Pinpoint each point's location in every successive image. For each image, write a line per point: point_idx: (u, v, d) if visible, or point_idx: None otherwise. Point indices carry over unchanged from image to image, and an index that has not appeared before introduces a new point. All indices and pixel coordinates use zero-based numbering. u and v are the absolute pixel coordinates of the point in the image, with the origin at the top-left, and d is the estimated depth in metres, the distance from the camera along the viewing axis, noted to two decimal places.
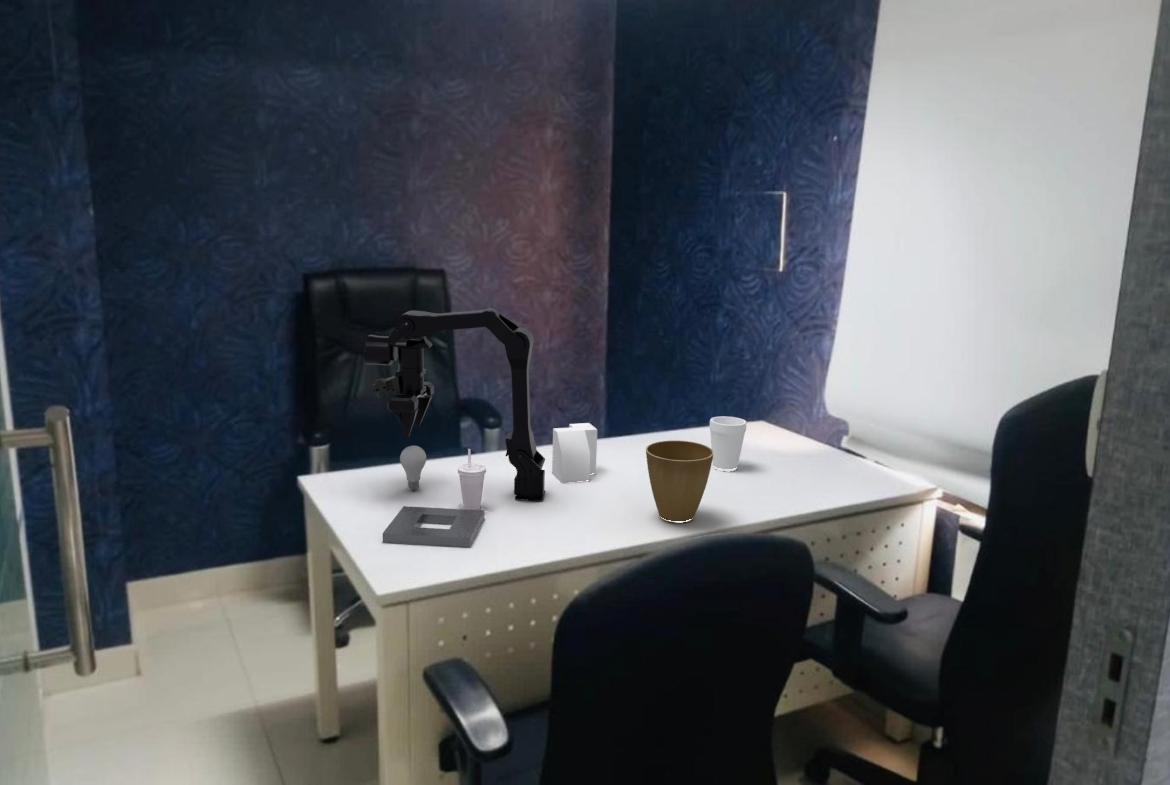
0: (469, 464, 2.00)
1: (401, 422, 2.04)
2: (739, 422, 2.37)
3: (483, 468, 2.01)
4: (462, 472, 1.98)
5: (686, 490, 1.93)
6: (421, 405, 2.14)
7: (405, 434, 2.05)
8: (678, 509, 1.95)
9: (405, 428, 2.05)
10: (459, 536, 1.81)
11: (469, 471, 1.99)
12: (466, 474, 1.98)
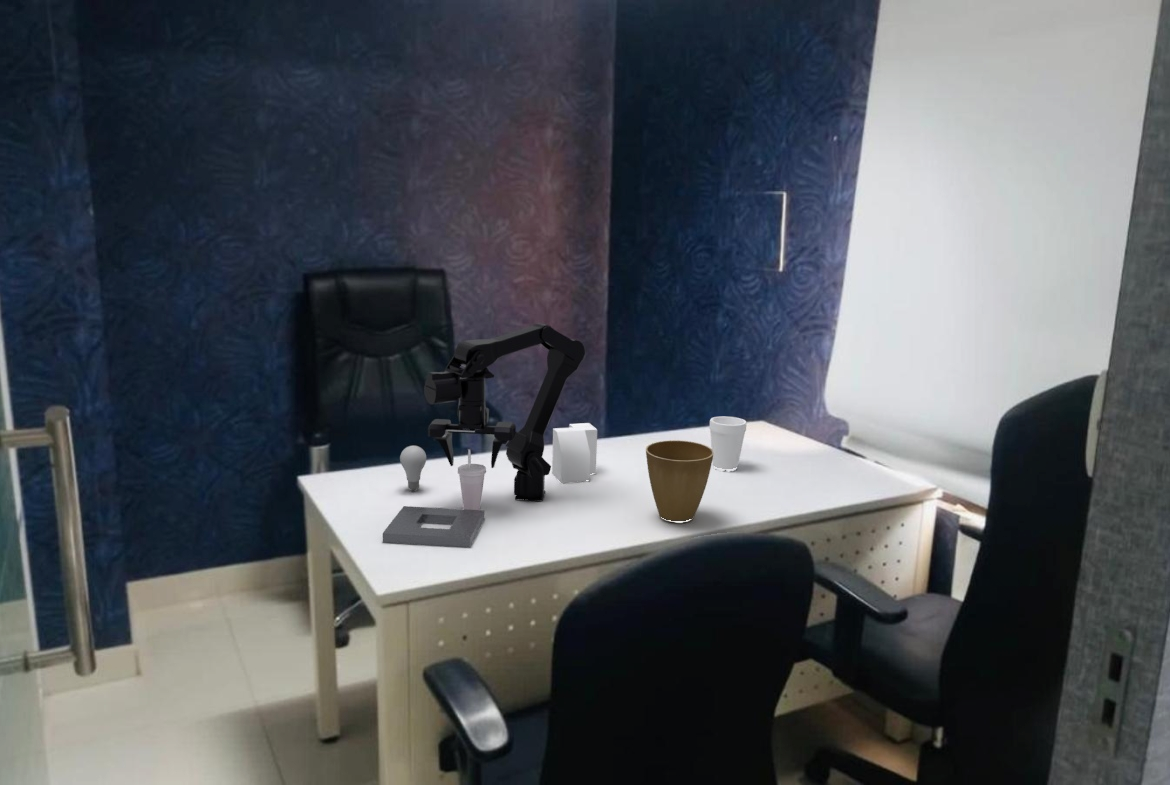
0: (469, 464, 2.00)
1: None
2: (739, 422, 2.37)
3: (483, 468, 2.01)
4: (462, 472, 1.98)
5: (686, 490, 1.93)
6: None
7: None
8: (678, 509, 1.95)
9: None
10: (459, 536, 1.81)
11: (469, 471, 1.99)
12: (466, 474, 1.98)
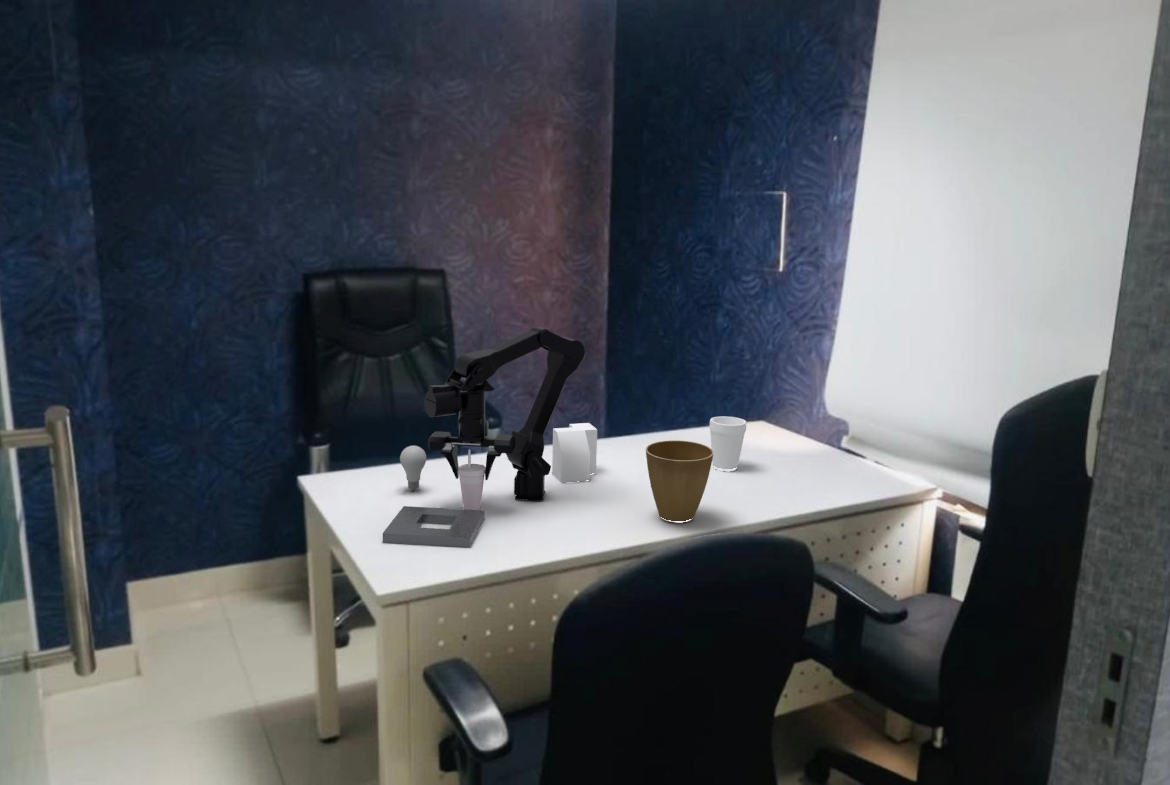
0: (469, 464, 2.00)
1: None
2: (739, 422, 2.37)
3: (483, 468, 2.01)
4: (462, 472, 1.98)
5: (686, 490, 1.93)
6: None
7: None
8: (678, 509, 1.95)
9: None
10: (459, 536, 1.81)
11: (469, 471, 1.99)
12: (466, 474, 1.98)
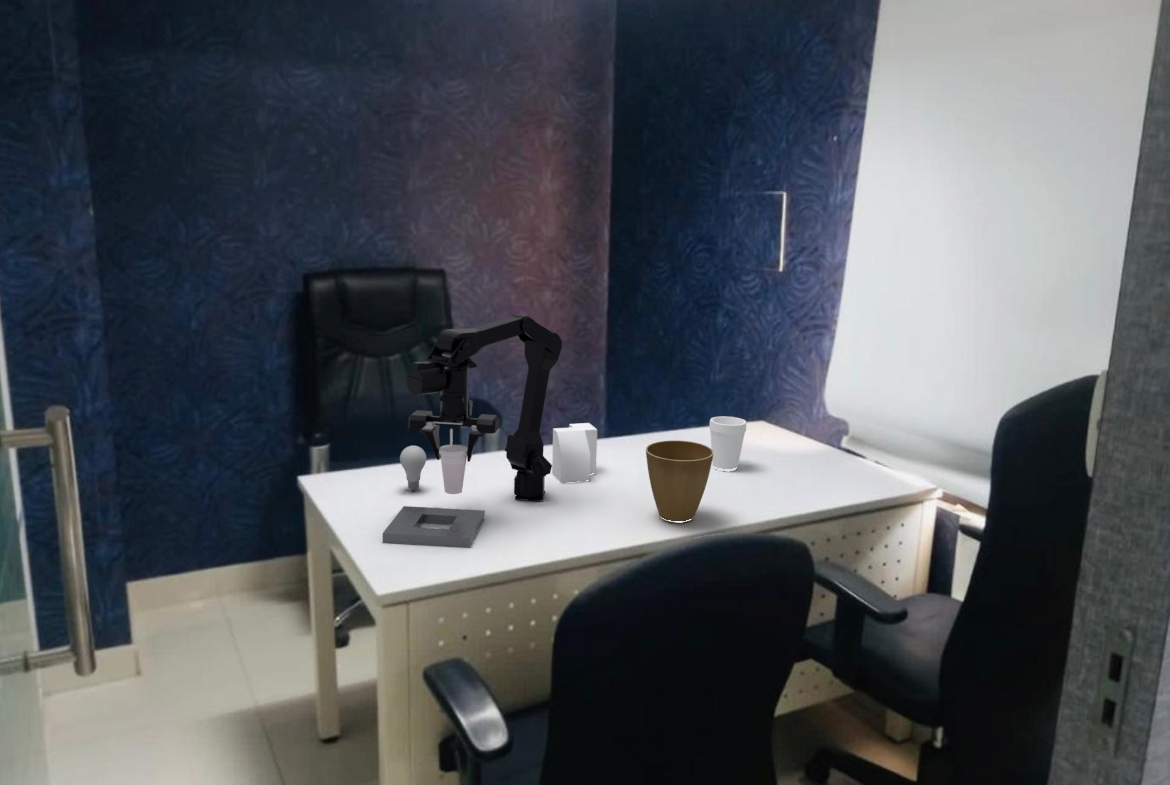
0: (451, 444, 1.93)
1: None
2: (739, 422, 2.37)
3: (465, 449, 1.93)
4: (443, 452, 1.91)
5: (686, 490, 1.93)
6: None
7: None
8: (678, 509, 1.95)
9: None
10: (459, 536, 1.81)
11: (450, 451, 1.91)
12: (447, 454, 1.90)
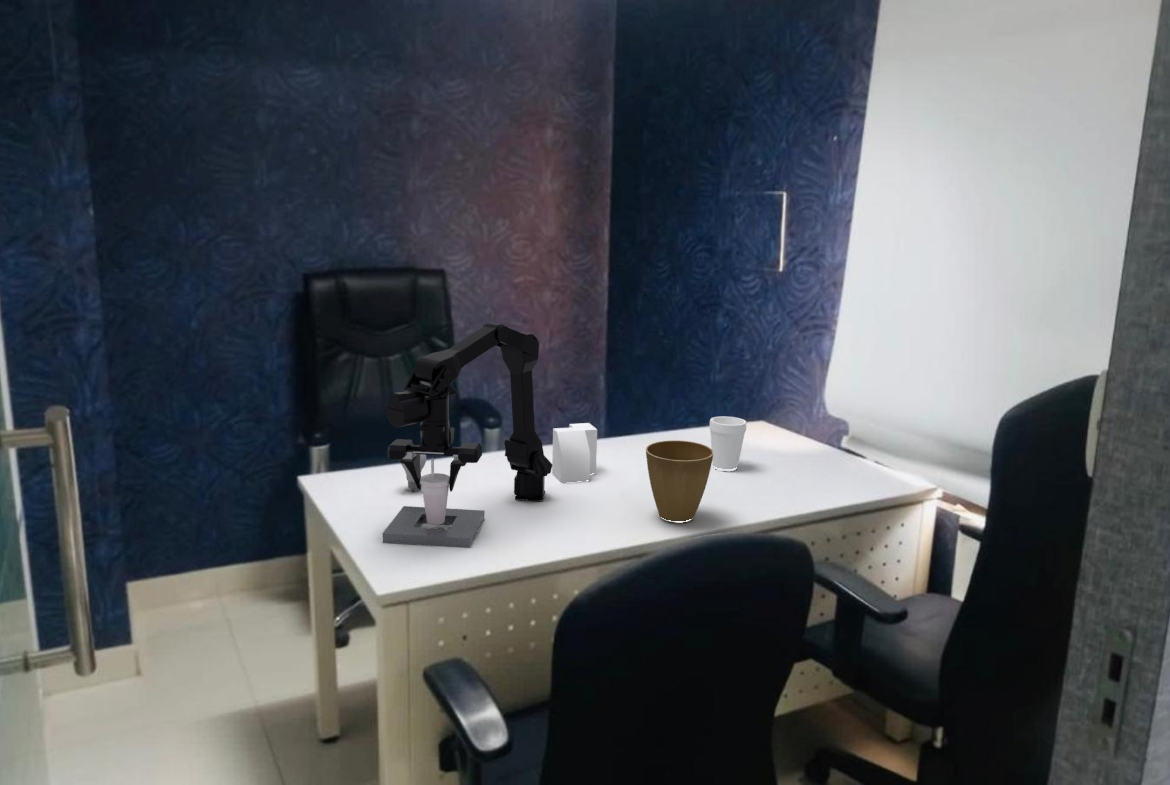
0: (432, 474, 1.87)
1: None
2: (739, 422, 2.37)
3: (447, 478, 1.87)
4: (424, 483, 1.85)
5: (686, 490, 1.93)
6: None
7: None
8: (678, 509, 1.95)
9: None
10: (459, 536, 1.81)
11: (432, 482, 1.85)
12: (429, 485, 1.84)
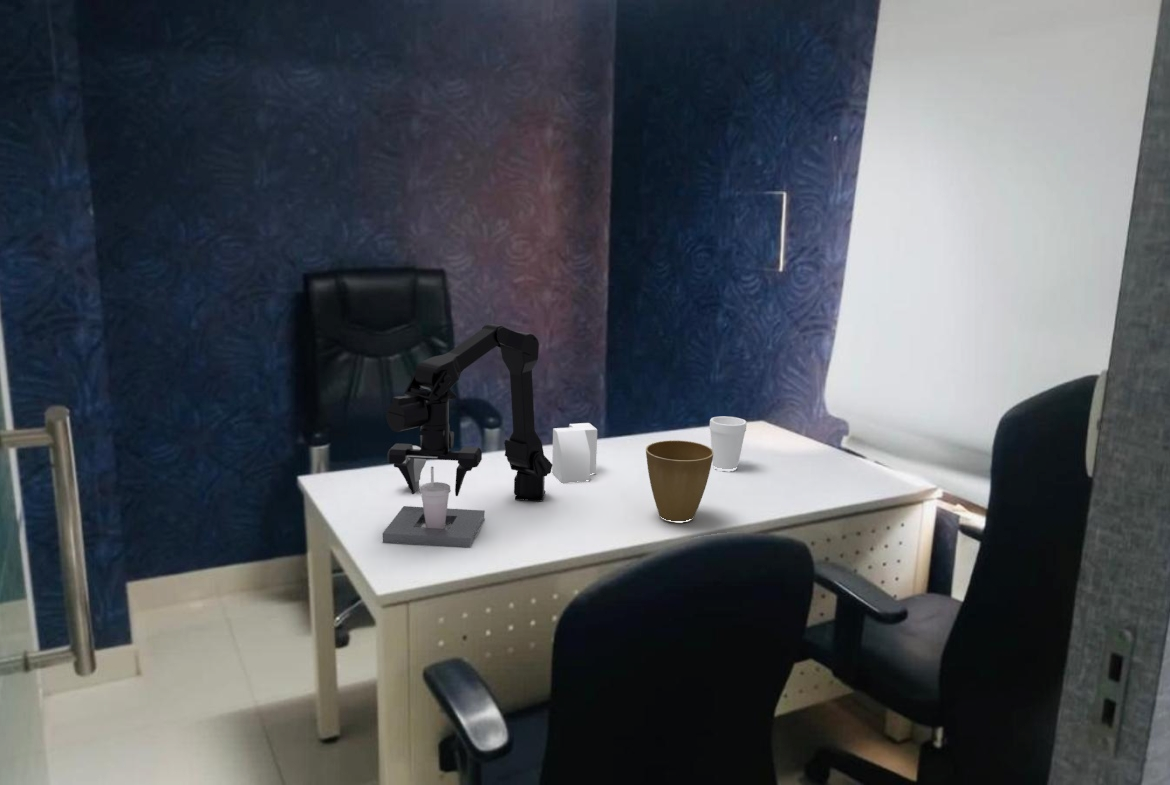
0: (432, 483, 1.87)
1: None
2: (739, 422, 2.37)
3: (447, 487, 1.88)
4: (424, 492, 1.85)
5: (686, 490, 1.93)
6: None
7: None
8: (678, 509, 1.95)
9: None
10: (459, 536, 1.81)
11: (432, 491, 1.85)
12: (428, 494, 1.85)
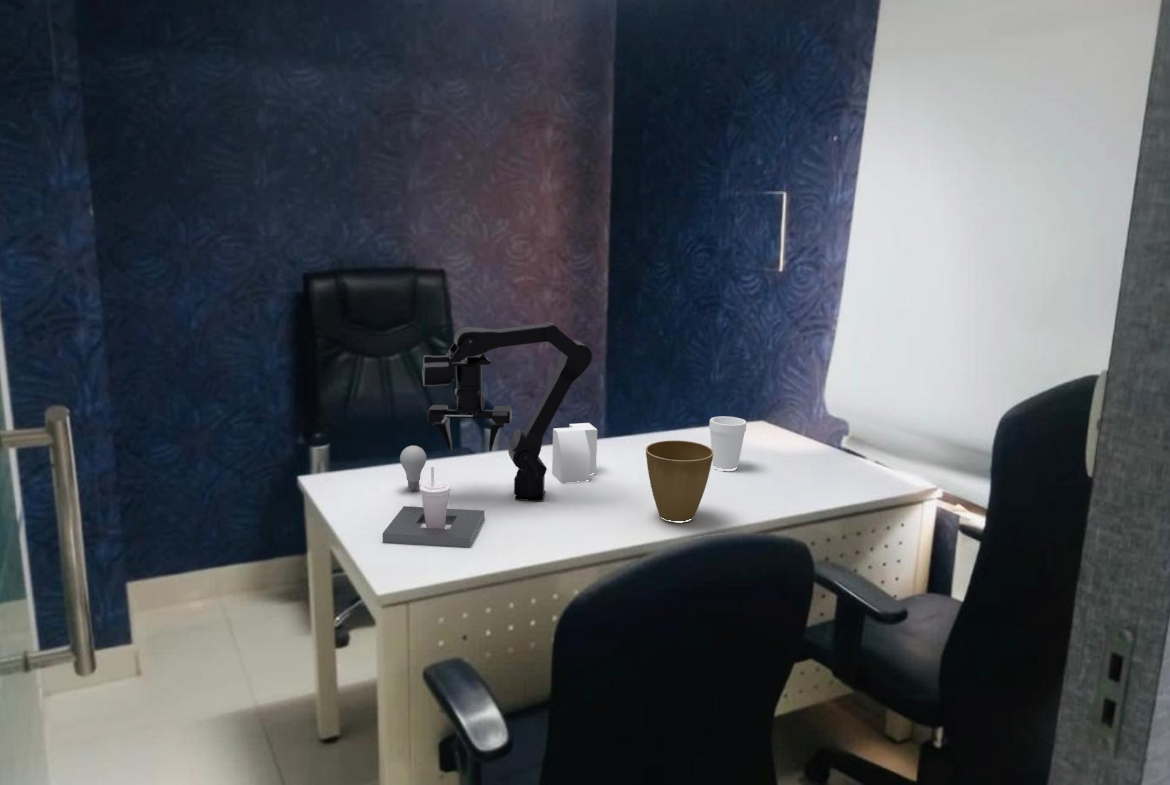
0: (432, 483, 1.87)
1: None
2: (739, 422, 2.37)
3: (447, 487, 1.88)
4: (424, 492, 1.85)
5: (686, 490, 1.93)
6: None
7: None
8: (678, 509, 1.95)
9: None
10: (459, 536, 1.81)
11: (432, 491, 1.85)
12: (428, 494, 1.85)
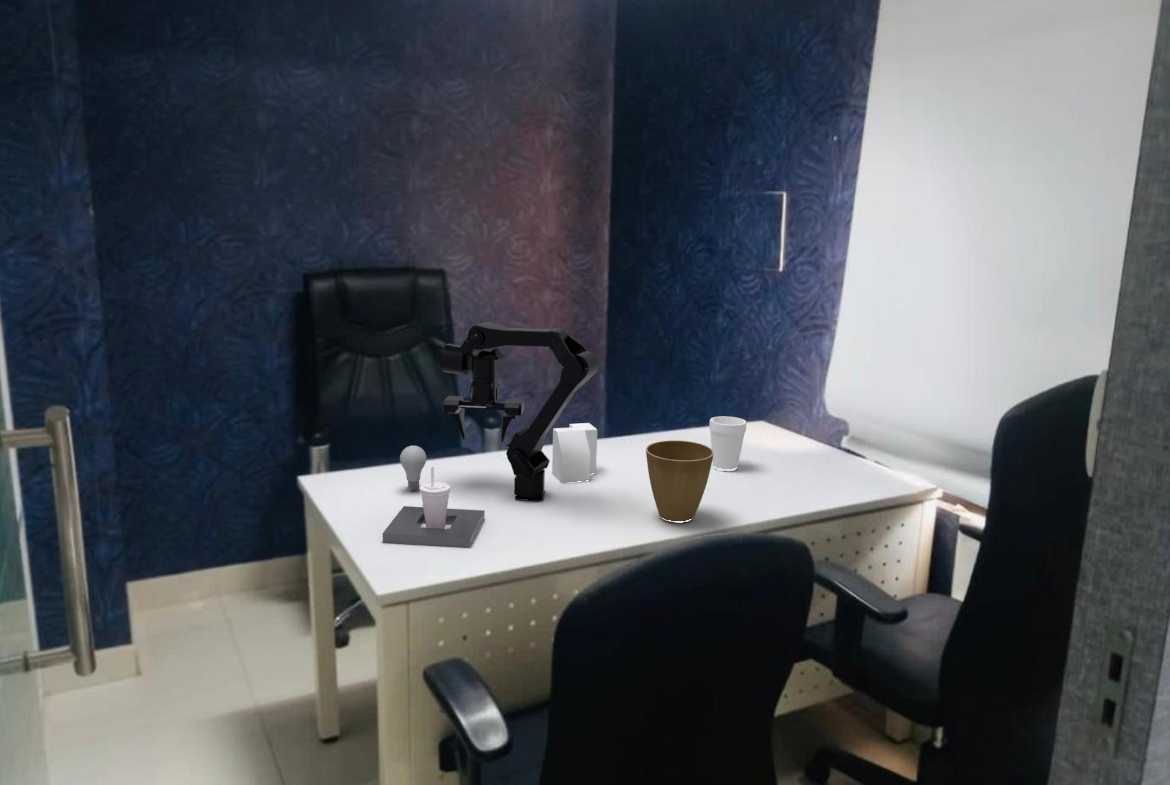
0: (432, 483, 1.87)
1: None
2: (739, 422, 2.37)
3: (447, 487, 1.88)
4: (424, 492, 1.85)
5: (686, 490, 1.93)
6: None
7: None
8: (678, 509, 1.95)
9: None
10: (459, 536, 1.81)
11: (432, 491, 1.85)
12: (428, 494, 1.85)
